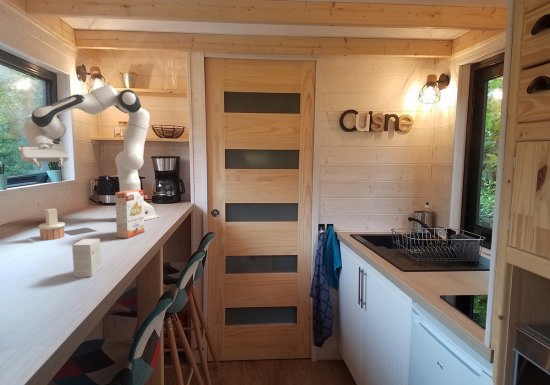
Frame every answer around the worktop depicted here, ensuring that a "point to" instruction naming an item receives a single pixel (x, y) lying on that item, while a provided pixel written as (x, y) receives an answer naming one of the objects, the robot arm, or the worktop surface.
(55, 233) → the bowl
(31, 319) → the worktop surface
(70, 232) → the rubber mat
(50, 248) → the worktop surface
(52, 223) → the lid
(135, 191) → the cracker box
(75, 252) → the small box
